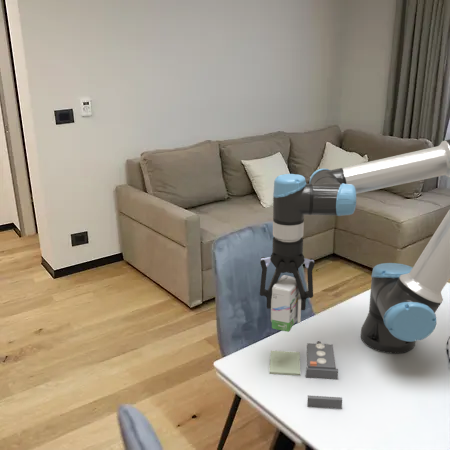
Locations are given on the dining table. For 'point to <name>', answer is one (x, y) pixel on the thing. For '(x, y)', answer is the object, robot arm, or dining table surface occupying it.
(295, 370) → the felt pad
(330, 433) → the dining table surface
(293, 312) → the ink box
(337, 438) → the dining table surface
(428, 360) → the dining table surface
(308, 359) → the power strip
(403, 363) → the dining table surface
